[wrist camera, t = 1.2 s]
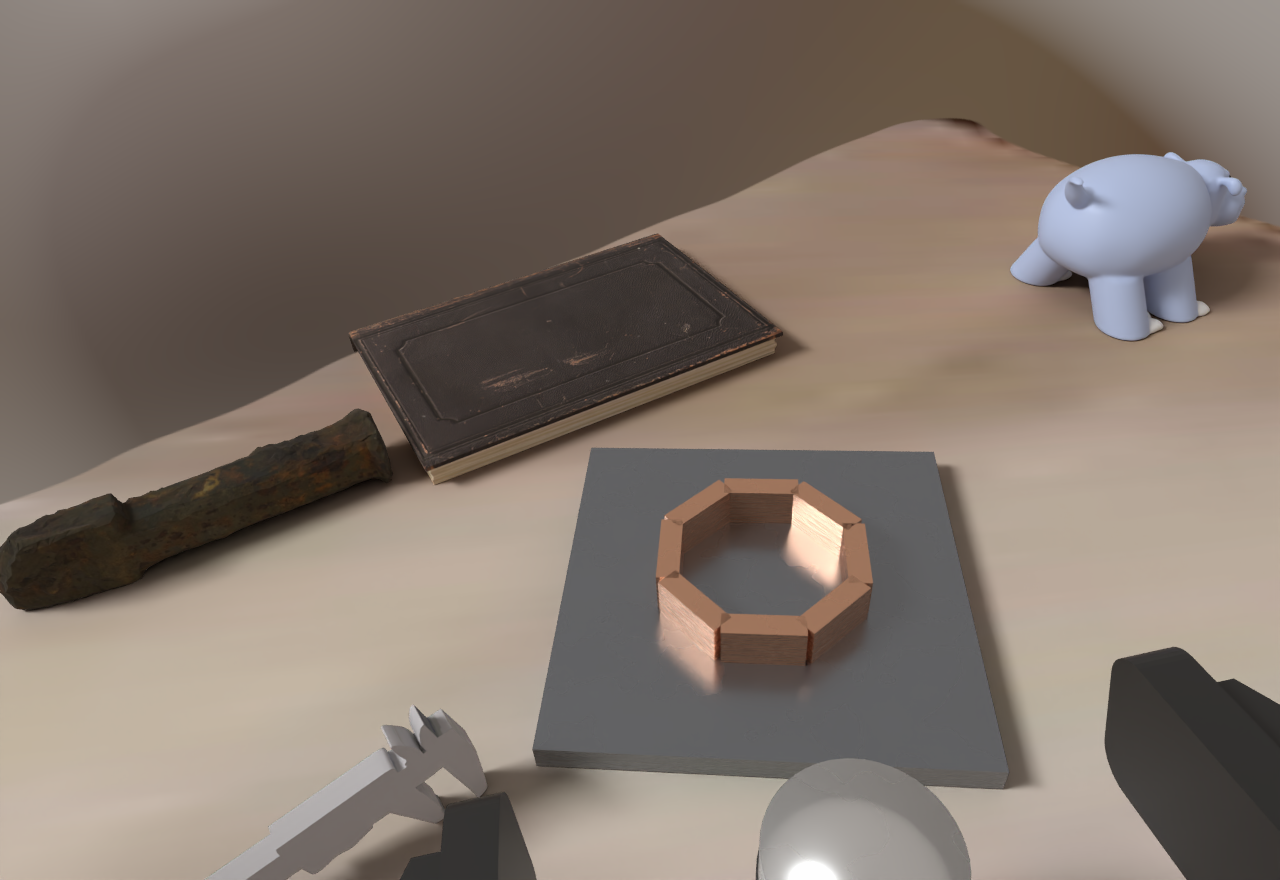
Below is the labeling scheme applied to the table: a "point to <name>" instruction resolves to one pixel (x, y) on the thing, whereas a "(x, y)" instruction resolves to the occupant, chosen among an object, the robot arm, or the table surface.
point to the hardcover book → (556, 352)
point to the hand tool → (183, 514)
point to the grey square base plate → (767, 620)
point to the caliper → (364, 800)
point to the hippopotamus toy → (1132, 237)
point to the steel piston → (859, 827)
